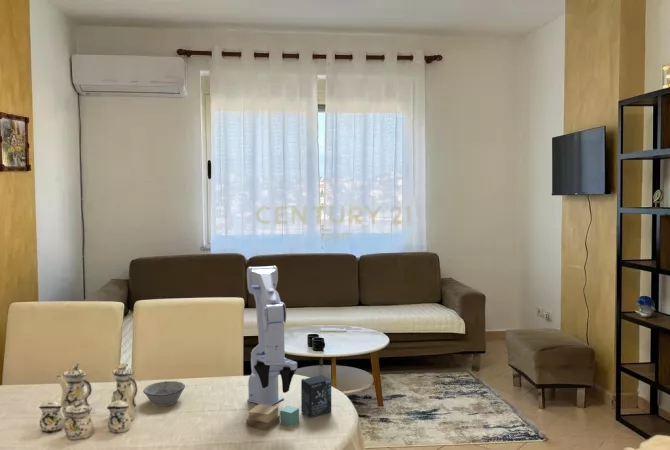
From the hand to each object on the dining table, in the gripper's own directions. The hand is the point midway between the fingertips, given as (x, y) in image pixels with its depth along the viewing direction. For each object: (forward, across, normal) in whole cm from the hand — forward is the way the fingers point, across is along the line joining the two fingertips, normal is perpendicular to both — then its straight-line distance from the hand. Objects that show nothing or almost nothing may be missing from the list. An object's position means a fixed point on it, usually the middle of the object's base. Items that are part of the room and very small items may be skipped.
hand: (275, 389), depth 171 cm
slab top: (+8, -2, -3) cm, 9 cm away
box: (+10, +7, +12) cm, 17 cm away
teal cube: (+10, +4, +2) cm, 11 cm away
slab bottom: (+10, -2, -3) cm, 11 cm away
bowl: (+10, -41, -5) cm, 43 cm away
